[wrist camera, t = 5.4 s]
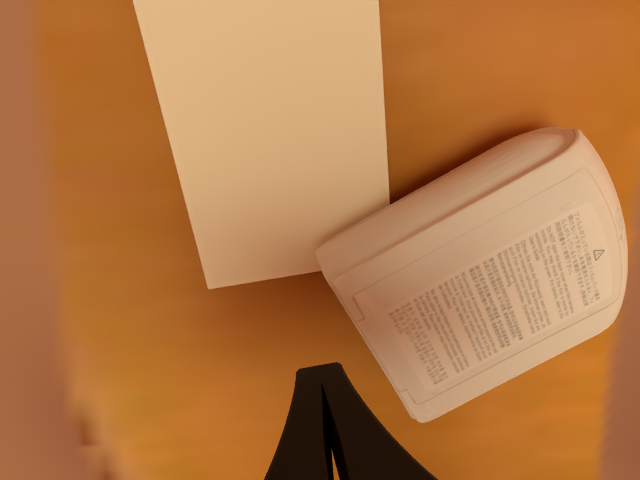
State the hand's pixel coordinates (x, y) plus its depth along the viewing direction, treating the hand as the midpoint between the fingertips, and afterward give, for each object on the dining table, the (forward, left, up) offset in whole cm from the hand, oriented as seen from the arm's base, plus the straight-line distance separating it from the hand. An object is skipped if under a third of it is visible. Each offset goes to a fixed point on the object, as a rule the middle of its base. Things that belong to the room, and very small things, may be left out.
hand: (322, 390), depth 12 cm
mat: (+7, 0, -7) cm, 10 cm away
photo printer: (-2, -2, -5) cm, 6 cm away
